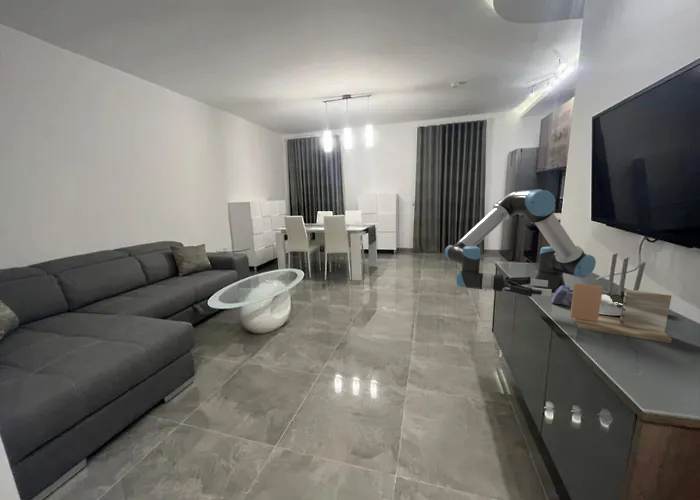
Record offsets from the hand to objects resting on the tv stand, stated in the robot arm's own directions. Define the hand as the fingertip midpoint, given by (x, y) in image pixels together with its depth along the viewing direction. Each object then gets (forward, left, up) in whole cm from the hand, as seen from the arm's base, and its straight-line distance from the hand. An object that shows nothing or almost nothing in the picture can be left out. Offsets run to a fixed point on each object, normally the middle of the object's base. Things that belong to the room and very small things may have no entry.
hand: (549, 288), depth 124 cm
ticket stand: (0, +23, -13) cm, 26 cm away
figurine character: (-28, +35, -13) cm, 47 cm away
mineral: (-23, +11, -13) cm, 29 cm away
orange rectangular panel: (0, +13, -11) cm, 17 cm away
